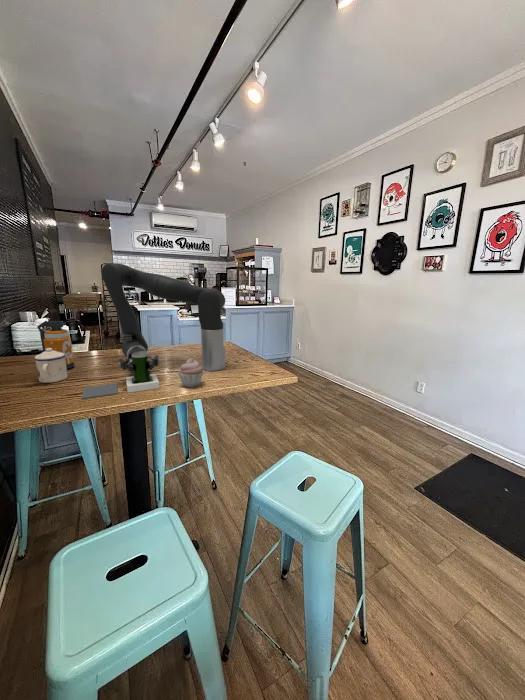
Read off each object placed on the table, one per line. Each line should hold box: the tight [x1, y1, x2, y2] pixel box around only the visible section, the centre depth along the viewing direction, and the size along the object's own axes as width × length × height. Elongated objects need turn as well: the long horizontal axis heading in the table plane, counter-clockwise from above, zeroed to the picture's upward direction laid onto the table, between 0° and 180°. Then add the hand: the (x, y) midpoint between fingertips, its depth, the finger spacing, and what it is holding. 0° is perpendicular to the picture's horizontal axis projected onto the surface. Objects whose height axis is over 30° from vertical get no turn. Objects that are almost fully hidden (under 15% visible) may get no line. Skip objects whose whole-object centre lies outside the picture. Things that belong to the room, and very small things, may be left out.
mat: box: [81, 382, 118, 400], centre depth 94 cm, size 10×10×1 cm
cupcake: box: [177, 357, 205, 388], centre depth 101 cm, size 9×9×10 cm
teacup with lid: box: [34, 348, 68, 384], centre depth 102 cm, size 12×9×12 cm
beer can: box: [132, 351, 151, 384], centre depth 99 cm, size 5×5×12 cm
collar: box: [125, 373, 160, 393], centre depth 100 cm, size 10×10×2 cm
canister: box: [36, 319, 75, 370], centre depth 115 cm, size 9×11×20 cm
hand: (141, 368), depth 96 cm, fingers closed on beer can, 5 cm apart
